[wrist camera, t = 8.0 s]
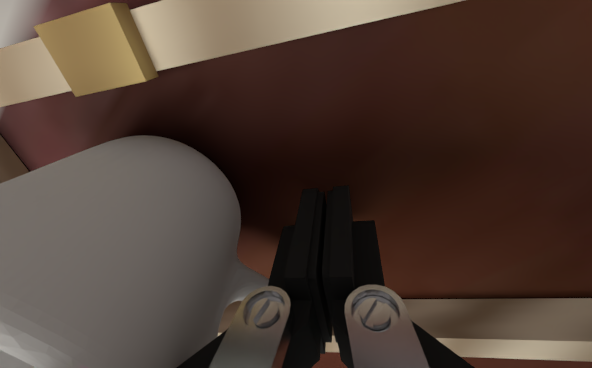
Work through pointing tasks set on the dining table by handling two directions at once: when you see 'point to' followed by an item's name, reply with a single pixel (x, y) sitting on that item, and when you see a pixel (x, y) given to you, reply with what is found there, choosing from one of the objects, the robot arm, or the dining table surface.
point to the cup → (118, 257)
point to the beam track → (241, 37)
